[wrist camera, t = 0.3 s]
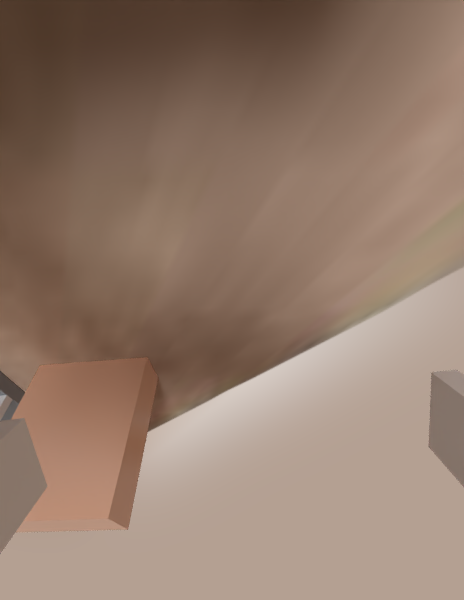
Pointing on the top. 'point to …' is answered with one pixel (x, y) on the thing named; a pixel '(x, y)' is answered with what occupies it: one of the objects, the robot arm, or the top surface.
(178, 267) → the top surface
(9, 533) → the robot arm
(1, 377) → the dish rack
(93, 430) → the terracotta tile
